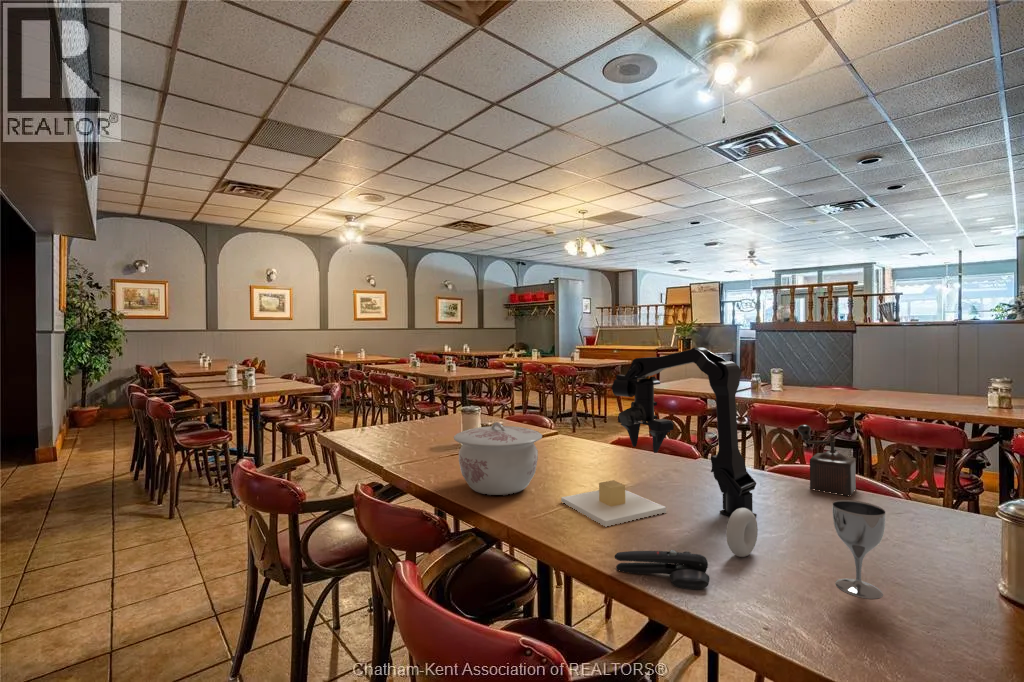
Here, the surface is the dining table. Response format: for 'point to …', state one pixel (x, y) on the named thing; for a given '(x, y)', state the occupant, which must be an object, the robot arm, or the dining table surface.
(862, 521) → the wine glass
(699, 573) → the can opener
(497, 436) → the chamber pot
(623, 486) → the cube
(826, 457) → the coffee grinder
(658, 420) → the robot arm
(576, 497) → the board
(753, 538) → the donut
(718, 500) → the dining table surface
